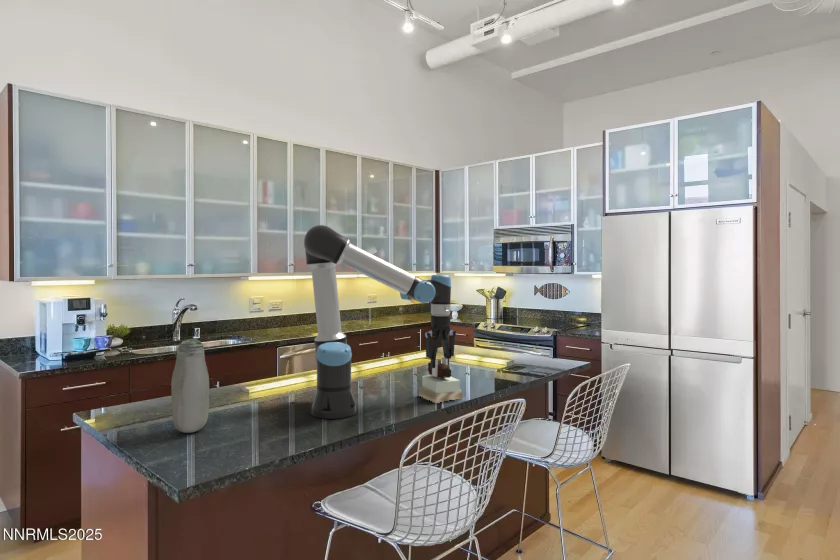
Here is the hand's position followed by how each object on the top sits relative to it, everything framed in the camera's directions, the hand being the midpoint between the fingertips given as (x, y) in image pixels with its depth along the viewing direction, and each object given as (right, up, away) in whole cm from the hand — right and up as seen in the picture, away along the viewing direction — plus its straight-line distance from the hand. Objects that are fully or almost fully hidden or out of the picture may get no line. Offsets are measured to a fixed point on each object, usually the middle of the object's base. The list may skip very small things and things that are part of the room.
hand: (439, 375), depth 200 cm
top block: (0, -5, 0) cm, 5 cm away
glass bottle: (-77, -9, -42) cm, 88 cm away
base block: (0, -9, 0) cm, 9 cm away
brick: (0, 0, 0) cm, 1 cm away
